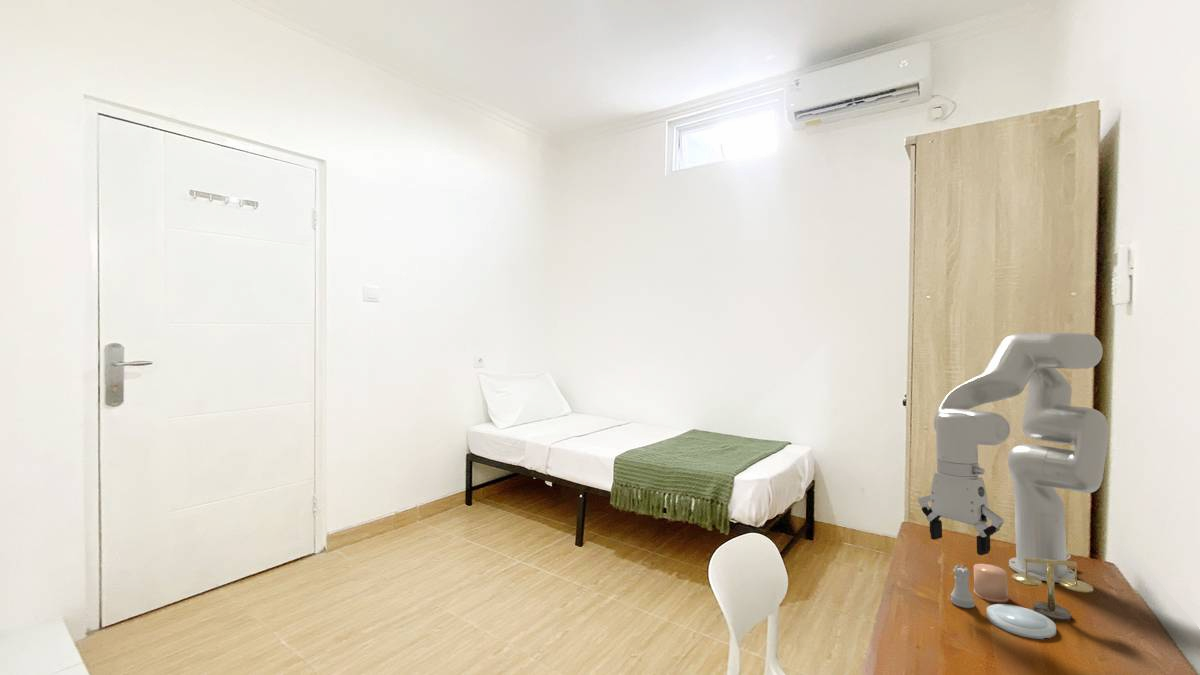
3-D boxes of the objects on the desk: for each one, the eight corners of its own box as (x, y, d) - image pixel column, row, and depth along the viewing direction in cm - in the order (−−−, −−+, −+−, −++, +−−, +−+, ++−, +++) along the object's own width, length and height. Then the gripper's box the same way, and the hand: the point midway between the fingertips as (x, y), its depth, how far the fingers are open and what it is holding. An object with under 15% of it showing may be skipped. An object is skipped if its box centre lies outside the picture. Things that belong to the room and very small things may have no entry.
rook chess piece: (979, 610, 110) (977, 573, 110) (956, 608, 110) (955, 571, 111) (968, 599, 114) (967, 564, 114) (946, 598, 115) (945, 563, 115)
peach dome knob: (983, 586, 120) (982, 561, 120) (1014, 598, 114) (1013, 571, 114) (967, 592, 117) (966, 566, 117) (998, 605, 111) (997, 578, 111)
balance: (1021, 596, 115) (1019, 541, 115) (1100, 625, 102) (1098, 564, 103) (1007, 602, 112) (1004, 546, 112) (1086, 633, 100) (1083, 570, 100)
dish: (1004, 604, 111) (1004, 598, 111) (1067, 629, 101) (1067, 623, 101) (975, 617, 107) (975, 611, 107) (1038, 644, 97) (1038, 637, 97)
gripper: (1011, 475, 106) (1013, 557, 106) (928, 459, 122) (929, 530, 122) (991, 479, 103) (993, 563, 103) (908, 462, 119) (909, 535, 118)
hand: (958, 545), depth 112 cm, fingers open, 9 cm apart
